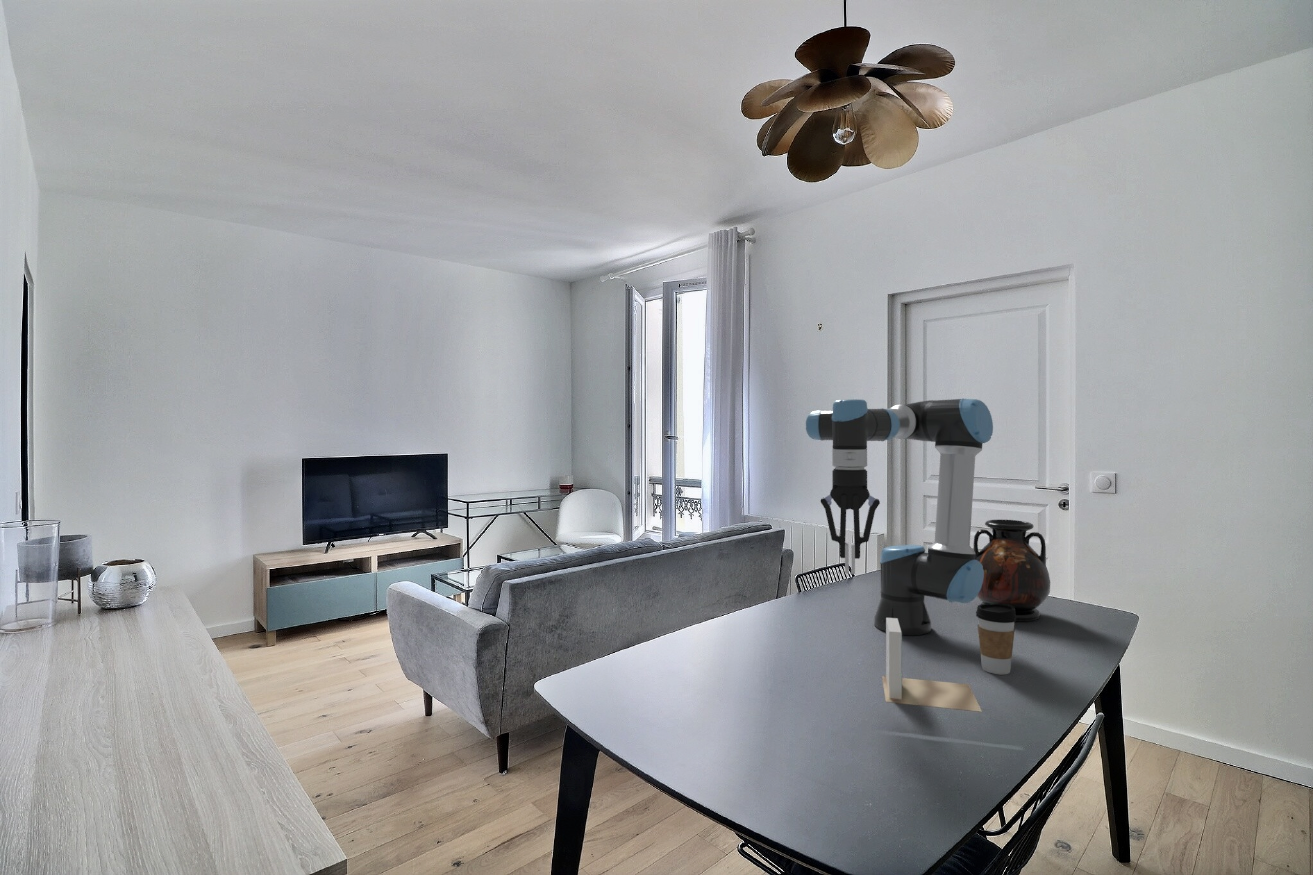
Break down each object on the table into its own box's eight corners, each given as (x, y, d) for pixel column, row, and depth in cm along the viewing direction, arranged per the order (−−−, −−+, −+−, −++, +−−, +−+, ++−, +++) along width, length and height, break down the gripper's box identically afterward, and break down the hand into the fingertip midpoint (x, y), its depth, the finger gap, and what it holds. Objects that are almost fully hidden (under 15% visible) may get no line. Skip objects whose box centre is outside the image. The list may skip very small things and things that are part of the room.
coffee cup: (1021, 677, 146) (1022, 612, 146) (981, 675, 148) (981, 610, 148) (1009, 664, 154) (1009, 602, 154) (971, 662, 156) (971, 600, 156)
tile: (889, 698, 135) (889, 631, 134) (886, 679, 144) (886, 617, 144) (902, 699, 134) (902, 632, 134) (898, 680, 144) (898, 618, 143)
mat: (885, 704, 133) (885, 701, 133) (881, 678, 146) (881, 676, 146) (981, 714, 128) (981, 711, 128) (968, 686, 141) (968, 684, 141)
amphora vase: (1045, 609, 200) (1045, 519, 199) (1055, 629, 180) (1055, 529, 180) (968, 601, 209) (968, 515, 208) (969, 620, 189) (969, 525, 189)
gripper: (817, 468, 143) (818, 574, 144) (882, 469, 140) (882, 578, 140) (819, 466, 151) (819, 567, 151) (880, 467, 147) (880, 570, 147)
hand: (849, 572), depth 145 cm, fingers closed
